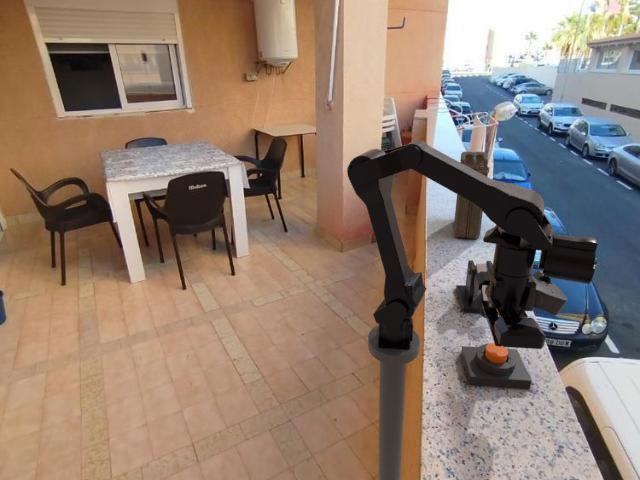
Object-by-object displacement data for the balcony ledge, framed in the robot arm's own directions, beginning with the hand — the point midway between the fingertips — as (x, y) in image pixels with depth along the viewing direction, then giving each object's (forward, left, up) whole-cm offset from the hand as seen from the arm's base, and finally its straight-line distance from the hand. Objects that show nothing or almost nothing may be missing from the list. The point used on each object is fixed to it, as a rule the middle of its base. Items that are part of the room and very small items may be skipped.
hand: (498, 345), depth 67 cm
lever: (+2, +19, -2) cm, 19 cm away
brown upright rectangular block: (+8, +67, -6) cm, 68 cm away
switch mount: (+2, +23, -6) cm, 24 cm away
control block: (0, 0, -6) cm, 6 cm away
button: (0, 0, -3) cm, 3 cm away
